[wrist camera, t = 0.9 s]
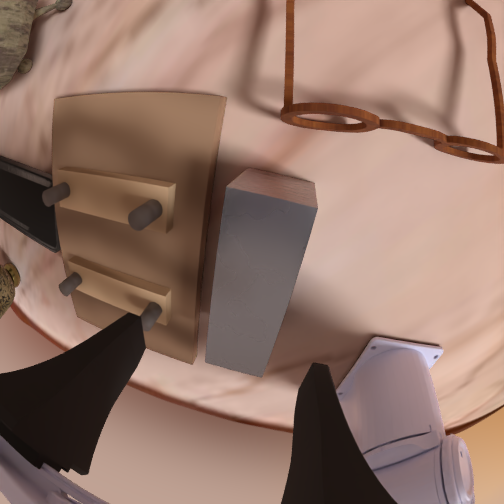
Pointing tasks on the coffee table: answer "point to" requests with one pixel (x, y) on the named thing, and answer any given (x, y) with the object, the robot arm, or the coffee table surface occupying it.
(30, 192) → the phone
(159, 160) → the peg rack
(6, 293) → the cup
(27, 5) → the tabletop clock
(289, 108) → the glasses
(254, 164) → the coffee table surface
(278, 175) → the metal bar
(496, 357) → the coffee table surface
